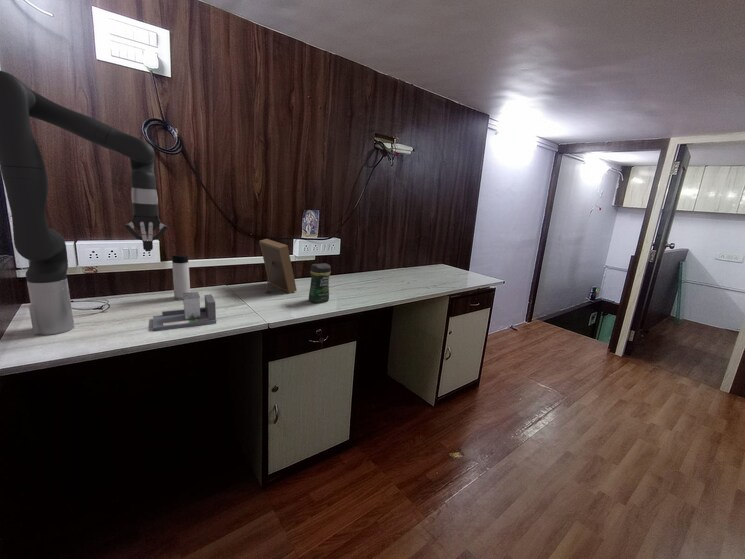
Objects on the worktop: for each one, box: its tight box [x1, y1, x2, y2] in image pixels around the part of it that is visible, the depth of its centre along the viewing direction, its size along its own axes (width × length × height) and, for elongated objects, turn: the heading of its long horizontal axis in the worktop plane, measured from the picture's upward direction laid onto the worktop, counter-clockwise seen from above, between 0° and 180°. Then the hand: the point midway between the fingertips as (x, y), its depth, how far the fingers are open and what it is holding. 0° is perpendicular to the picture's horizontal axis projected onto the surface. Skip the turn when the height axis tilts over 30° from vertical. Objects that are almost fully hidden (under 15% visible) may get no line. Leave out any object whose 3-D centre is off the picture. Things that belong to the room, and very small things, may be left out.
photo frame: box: [258, 238, 297, 294], centre depth 170 cm, size 15×22×25 cm
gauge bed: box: [152, 294, 217, 332], centre depth 123 cm, size 20×12×8 cm, turn 123°
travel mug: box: [171, 254, 191, 301], centre depth 145 cm, size 6×7×20 cm
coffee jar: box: [308, 262, 332, 304], centre depth 159 cm, size 10×8×19 cm
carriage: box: [182, 291, 201, 320], centre depth 123 cm, size 5×9×9 cm, turn 33°
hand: (148, 251), depth 118 cm, fingers closed
